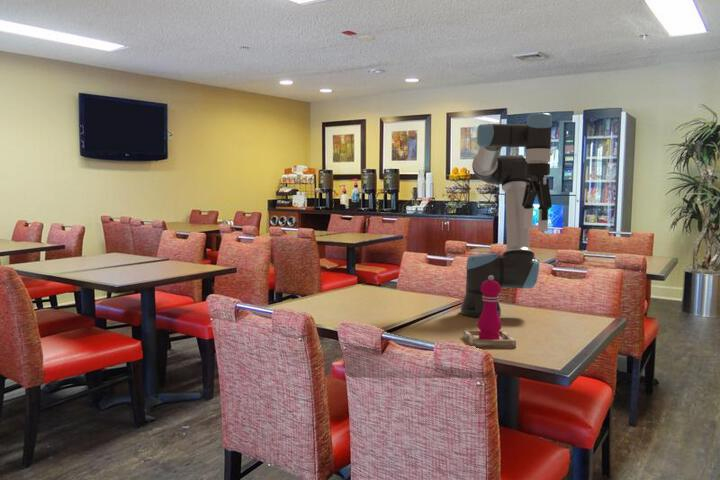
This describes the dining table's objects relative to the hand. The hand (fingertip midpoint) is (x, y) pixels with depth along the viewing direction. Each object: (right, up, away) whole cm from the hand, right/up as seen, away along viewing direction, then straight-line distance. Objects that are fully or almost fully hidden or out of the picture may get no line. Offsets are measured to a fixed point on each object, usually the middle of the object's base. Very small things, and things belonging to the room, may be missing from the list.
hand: (535, 229), depth 183 cm
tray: (-16, -35, -6) cm, 39 cm away
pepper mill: (-16, -34, -6) cm, 38 cm away
